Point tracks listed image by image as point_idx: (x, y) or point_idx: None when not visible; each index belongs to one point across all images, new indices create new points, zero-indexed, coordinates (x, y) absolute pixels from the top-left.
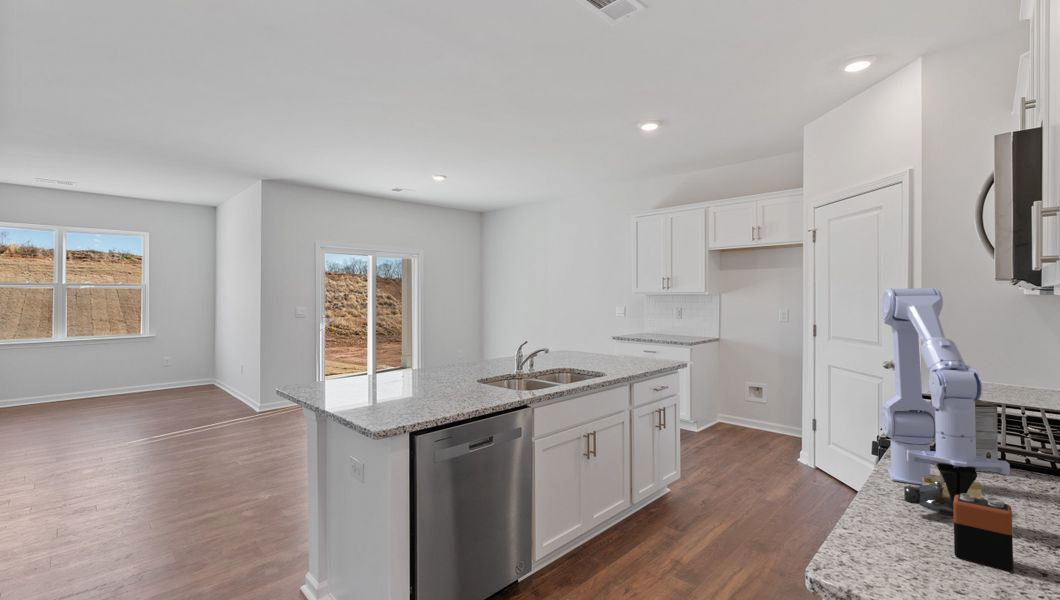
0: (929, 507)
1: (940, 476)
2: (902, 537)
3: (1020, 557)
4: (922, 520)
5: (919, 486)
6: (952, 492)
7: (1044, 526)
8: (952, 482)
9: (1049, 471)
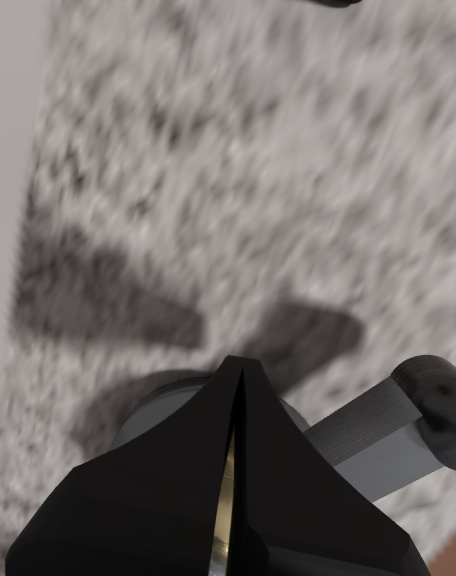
0: (303, 421)
1: None
2: None
3: (133, 38)
4: (375, 299)
5: (377, 499)
6: (269, 398)
7: (16, 376)
8: (278, 452)
9: None
